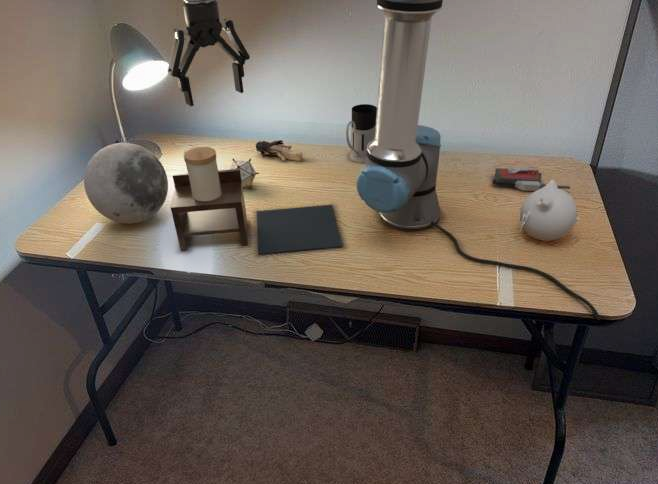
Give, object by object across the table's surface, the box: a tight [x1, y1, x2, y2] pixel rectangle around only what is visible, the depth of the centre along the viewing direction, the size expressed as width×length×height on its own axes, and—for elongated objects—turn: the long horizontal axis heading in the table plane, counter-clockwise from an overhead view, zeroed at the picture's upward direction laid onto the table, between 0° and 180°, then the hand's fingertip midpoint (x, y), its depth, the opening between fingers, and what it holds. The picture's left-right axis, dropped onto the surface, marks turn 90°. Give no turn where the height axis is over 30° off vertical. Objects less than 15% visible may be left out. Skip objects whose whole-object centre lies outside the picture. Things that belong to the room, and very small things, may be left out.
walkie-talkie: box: [491, 166, 571, 192], centre depth 147 cm, size 9×4×20 cm
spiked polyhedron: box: [229, 158, 260, 190], centre depth 152 cm, size 9×8×10 cm
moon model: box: [83, 142, 169, 224], centre depth 136 cm, size 20×20×20 cm
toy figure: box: [255, 139, 303, 162], centre depth 167 cm, size 7×6×15 cm
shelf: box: [170, 168, 249, 253], centre depth 129 cm, size 16×11×15 cm
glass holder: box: [345, 103, 377, 164], centre depth 161 cm, size 9×14×15 cm, turn 146°
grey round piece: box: [519, 179, 581, 242], centre depth 124 cm, size 15×13×12 cm
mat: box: [256, 204, 343, 256], centre depth 135 cm, size 20×20×1 cm
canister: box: [183, 146, 222, 201], centre depth 123 cm, size 7×7×10 cm
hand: (215, 98), depth 131 cm, fingers open, 13 cm apart
